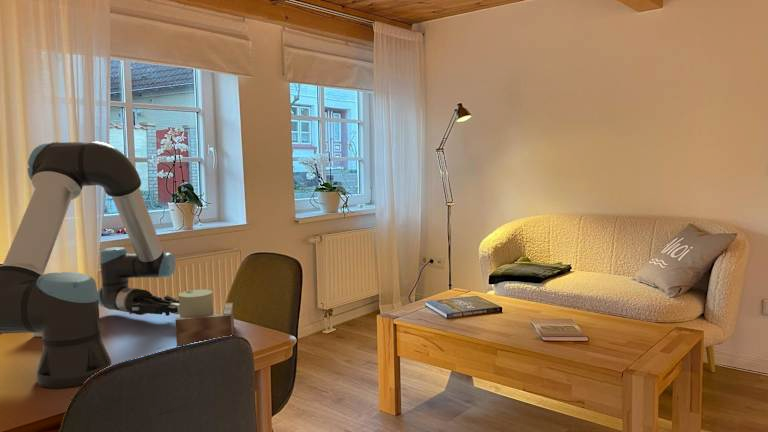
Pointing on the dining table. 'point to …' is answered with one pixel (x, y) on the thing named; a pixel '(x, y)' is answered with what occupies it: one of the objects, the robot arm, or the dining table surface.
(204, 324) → the v stop
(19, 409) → the dining table surface
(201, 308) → the can
